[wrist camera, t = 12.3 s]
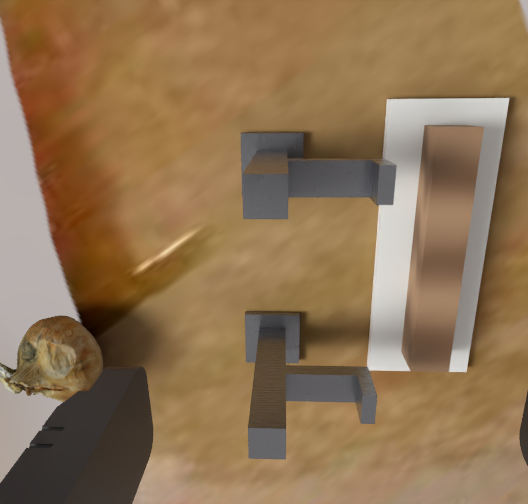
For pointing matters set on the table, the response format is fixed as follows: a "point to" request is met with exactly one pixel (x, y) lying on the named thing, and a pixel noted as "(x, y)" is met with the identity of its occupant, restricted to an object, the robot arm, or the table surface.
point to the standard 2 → (305, 175)
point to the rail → (439, 243)
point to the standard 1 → (293, 381)
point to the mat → (403, 217)
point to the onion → (55, 360)
